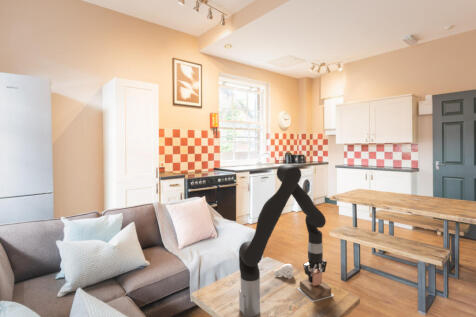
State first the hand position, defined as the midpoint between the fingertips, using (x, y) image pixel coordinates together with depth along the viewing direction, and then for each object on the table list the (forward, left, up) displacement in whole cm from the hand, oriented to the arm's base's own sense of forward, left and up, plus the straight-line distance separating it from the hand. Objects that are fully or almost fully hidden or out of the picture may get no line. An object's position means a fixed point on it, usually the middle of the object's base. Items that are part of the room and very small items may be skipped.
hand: (315, 281), depth 140 cm
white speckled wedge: (-7, +21, -7) cm, 23 cm away
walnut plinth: (0, 0, -6) cm, 6 cm away
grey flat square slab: (0, 0, -7) cm, 7 cm away
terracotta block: (0, 0, -1) cm, 1 cm away
